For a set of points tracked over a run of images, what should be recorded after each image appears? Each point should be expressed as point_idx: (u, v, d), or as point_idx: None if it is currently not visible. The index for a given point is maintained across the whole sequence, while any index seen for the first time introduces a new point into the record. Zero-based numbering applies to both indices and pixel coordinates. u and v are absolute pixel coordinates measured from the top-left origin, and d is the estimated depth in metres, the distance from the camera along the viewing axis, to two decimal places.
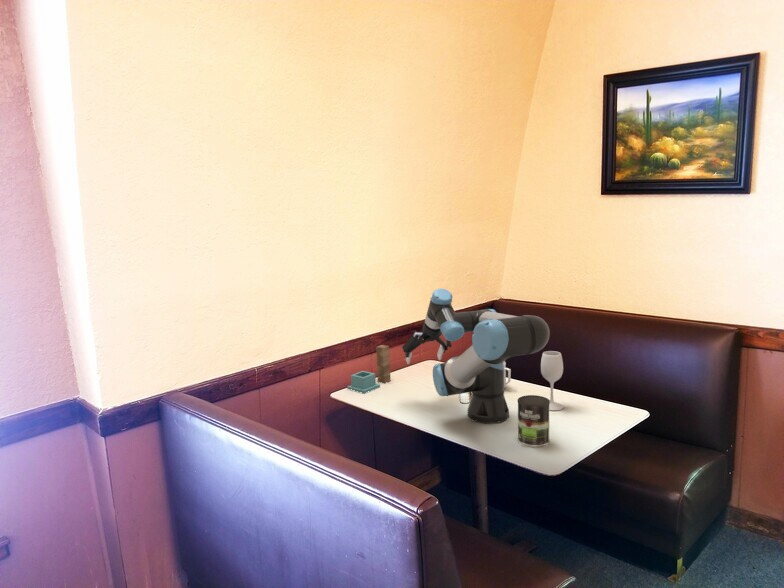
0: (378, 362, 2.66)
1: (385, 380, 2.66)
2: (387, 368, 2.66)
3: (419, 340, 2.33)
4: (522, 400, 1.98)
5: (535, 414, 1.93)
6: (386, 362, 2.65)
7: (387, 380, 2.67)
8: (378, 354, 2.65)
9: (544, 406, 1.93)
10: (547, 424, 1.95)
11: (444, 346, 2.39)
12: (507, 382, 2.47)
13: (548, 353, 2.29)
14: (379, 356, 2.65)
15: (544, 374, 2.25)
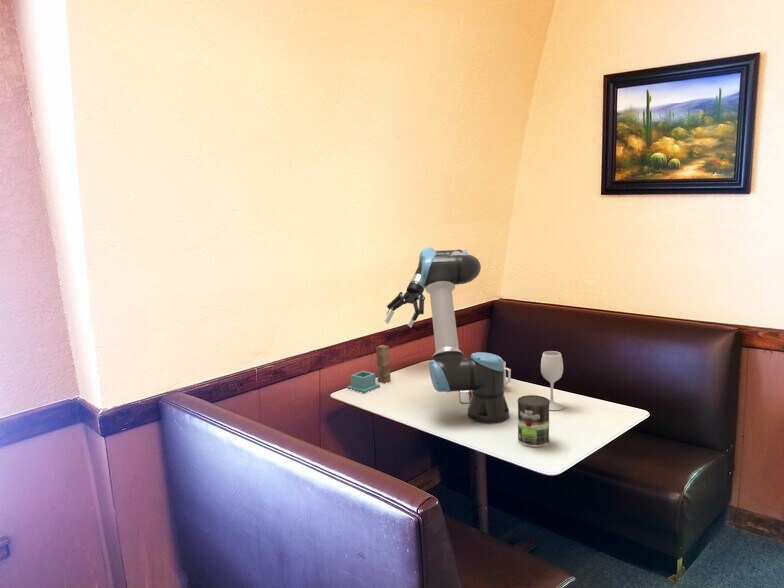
0: (378, 362, 2.66)
1: (385, 380, 2.66)
2: (387, 368, 2.66)
3: None
4: (522, 400, 1.98)
5: (535, 414, 1.93)
6: (386, 362, 2.65)
7: (387, 380, 2.67)
8: (378, 354, 2.65)
9: (544, 406, 1.93)
10: (547, 424, 1.95)
11: (415, 309, 2.70)
12: (507, 382, 2.47)
13: (548, 353, 2.29)
14: (379, 356, 2.65)
15: (544, 374, 2.25)
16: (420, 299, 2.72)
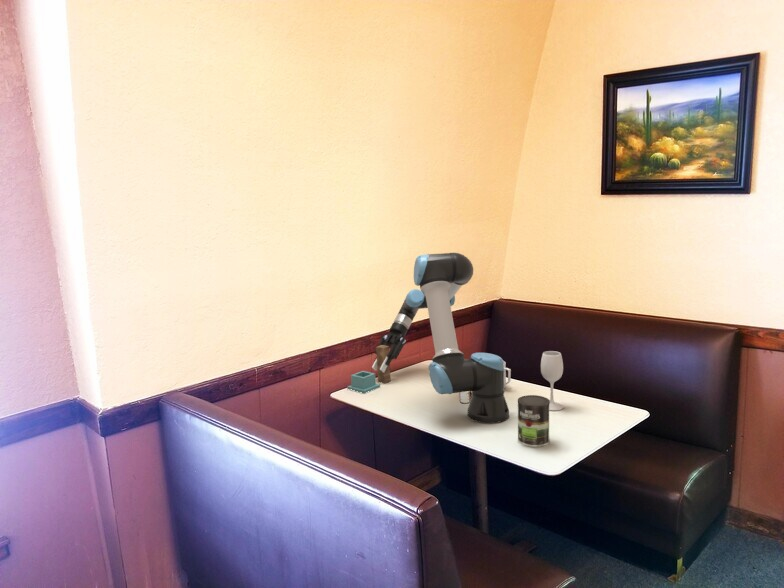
0: (378, 362, 2.66)
1: (385, 380, 2.66)
2: (387, 368, 2.66)
3: None
4: (522, 400, 1.98)
5: (535, 414, 1.93)
6: None
7: (387, 380, 2.67)
8: (378, 354, 2.65)
9: (544, 406, 1.93)
10: (547, 424, 1.95)
11: (390, 353, 2.65)
12: (507, 382, 2.47)
13: (548, 353, 2.29)
14: (379, 356, 2.65)
15: (544, 374, 2.25)
16: (399, 343, 2.66)
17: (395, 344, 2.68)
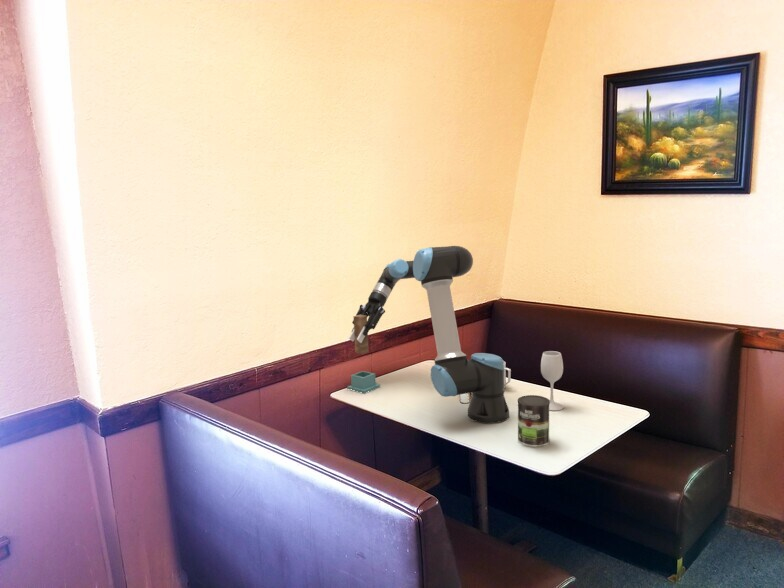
0: (355, 332, 2.55)
1: (363, 351, 2.55)
2: (365, 338, 2.55)
3: None
4: (522, 400, 1.98)
5: (535, 414, 1.93)
6: None
7: (365, 351, 2.56)
8: (355, 324, 2.54)
9: (544, 406, 1.93)
10: (547, 424, 1.95)
11: (367, 323, 2.54)
12: (507, 382, 2.47)
13: (548, 353, 2.29)
14: (357, 326, 2.54)
15: (544, 374, 2.25)
16: (377, 312, 2.55)
17: (373, 314, 2.57)
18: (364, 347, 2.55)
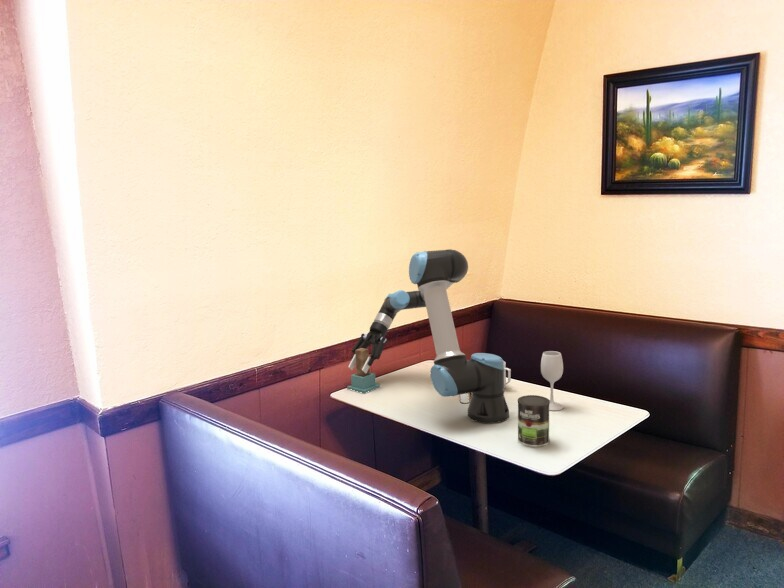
0: (357, 366, 2.57)
1: None
2: None
3: None
4: (522, 400, 1.98)
5: (535, 414, 1.93)
6: None
7: None
8: (357, 357, 2.57)
9: (544, 406, 1.93)
10: (547, 424, 1.95)
11: (372, 353, 2.56)
12: (507, 382, 2.47)
13: (548, 353, 2.29)
14: (359, 359, 2.56)
15: (544, 374, 2.25)
16: (380, 342, 2.57)
17: (376, 344, 2.59)
18: None
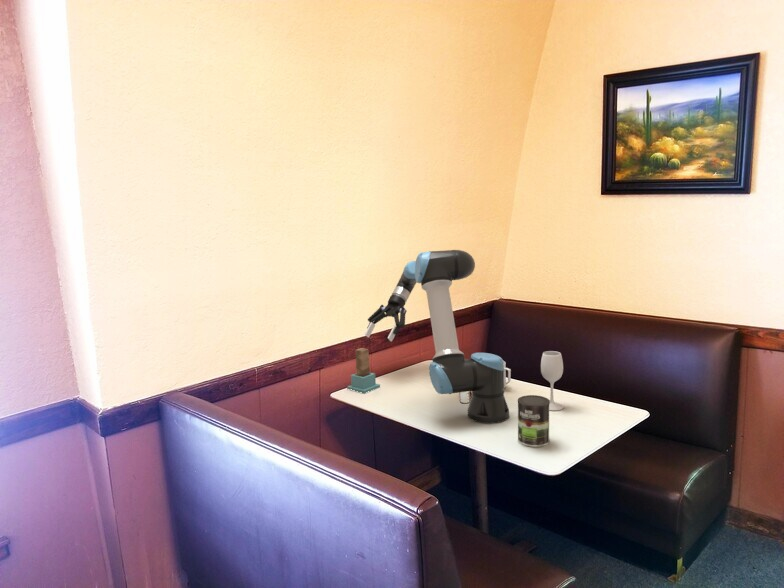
0: (357, 366, 2.57)
1: None
2: (366, 372, 2.58)
3: None
4: (522, 400, 1.98)
5: (535, 414, 1.93)
6: (365, 366, 2.57)
7: None
8: (357, 357, 2.57)
9: (544, 406, 1.93)
10: (547, 424, 1.95)
11: (396, 322, 2.62)
12: (507, 382, 2.47)
13: (548, 353, 2.29)
14: (359, 359, 2.56)
15: (544, 374, 2.25)
16: (401, 312, 2.65)
17: (396, 315, 2.67)
18: None
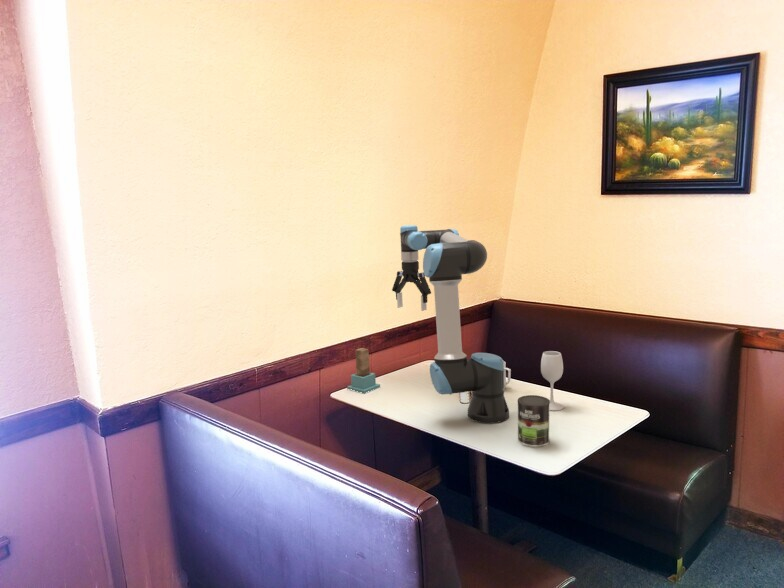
0: (357, 366, 2.57)
1: None
2: (366, 372, 2.58)
3: None
4: (522, 400, 1.98)
5: (535, 414, 1.93)
6: (365, 366, 2.57)
7: None
8: (357, 357, 2.57)
9: (544, 406, 1.93)
10: (547, 424, 1.95)
11: (421, 292, 2.59)
12: (507, 382, 2.47)
13: (548, 353, 2.29)
14: (359, 359, 2.56)
15: (544, 374, 2.25)
16: (421, 279, 2.59)
17: (417, 281, 2.61)
18: None
